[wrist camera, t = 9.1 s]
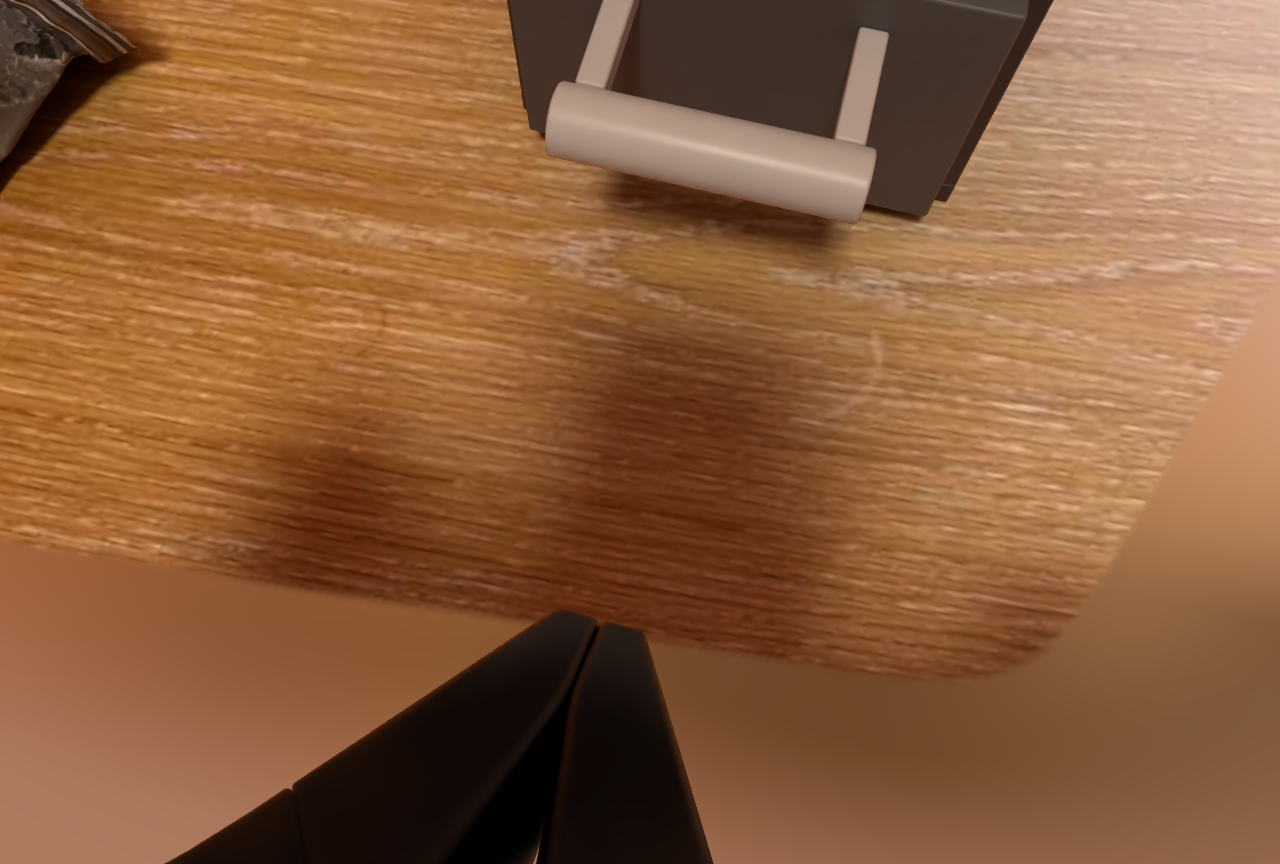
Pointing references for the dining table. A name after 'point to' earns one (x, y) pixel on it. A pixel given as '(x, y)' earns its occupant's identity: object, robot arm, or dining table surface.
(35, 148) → the dining table surface
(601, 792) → the robot arm
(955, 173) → the dark brown hollow box
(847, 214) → the drawer
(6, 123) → the chocolate cake
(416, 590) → the dining table surface
